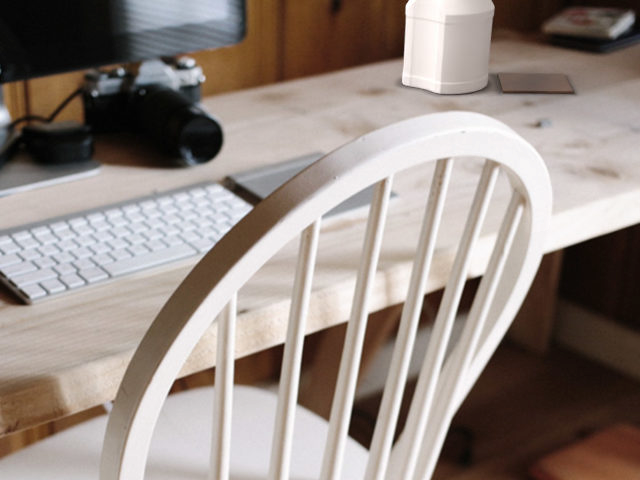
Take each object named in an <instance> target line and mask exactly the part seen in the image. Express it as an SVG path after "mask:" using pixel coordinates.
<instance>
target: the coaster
mask: <svg viewBox="0 0 640 480" xmlns="http://www.w3.org/2000/svg"><path fill="white" fill-rule="evenodd" d="M496 76H497V79H498V81H499V84H500V87H501V91H502V93H503V94H574V90H573V89H572V86H571V85H570V83H569V81H568V79H567V77H566V75H565V73H539V72H538V73H536V72H535V73H533V72H532V73H531V72H530V73H529V72H528V73H525V72H524V73H523V72H521V73H519V72H518V73H517V72H498V73H497V75H496Z"/></svg>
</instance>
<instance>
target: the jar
mask: <svg viewBox="0 0 640 480" xmlns="http://www.w3.org/2000/svg"><path fill="white" fill-rule="evenodd" d="M494 16H495V5H494V2H493V1H492V0H408V2H407V3H406V4H405V27H404V28H405V30H404V51H403V69H402V74H401V83H402V84H403V86H406V87H409V88H416V89H421V90H426V91H429V92H432V93H434V94H438V95H461V94H462V95H463V94H470V93H474V92H478V91H480V90H483V89H484V88H486V87H487V86H488V83H489V82H488V81H489V61H490V50H491V40H492V30H493V20H494Z"/></svg>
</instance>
